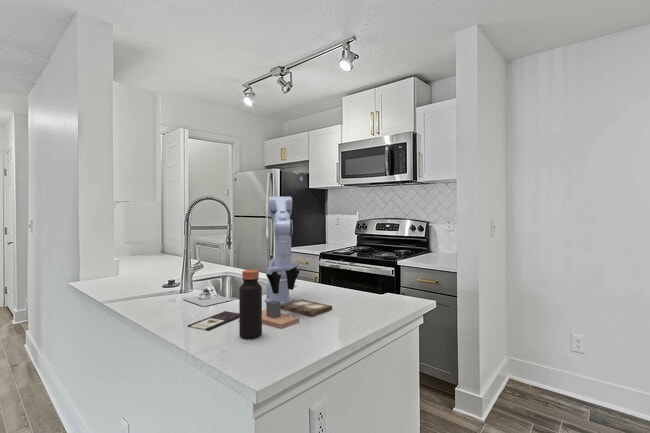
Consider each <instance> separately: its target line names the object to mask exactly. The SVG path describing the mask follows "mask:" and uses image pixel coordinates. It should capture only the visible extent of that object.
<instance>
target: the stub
mask: <svg viewBox="0 0 650 433" xmlns="http://www.w3.org/2000/svg"><path fill="white" fill-rule="evenodd" d="M265 302H266V306H265V308H266V309H264V310H262V325H266V326H271V327H273V328H276V329H280V330H281V329H284V328H286V327H287V328H288V327H289V326H293V325H296V324H298V323H300V317H298V316H295V315H291V314H286V313H283V312H282V309H281V305H282V304H281V302H278V301H273V300H272V301H268V302H267V301H265Z"/></svg>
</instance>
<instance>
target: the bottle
mask: <svg viewBox="0 0 650 433" xmlns="http://www.w3.org/2000/svg"><path fill="white" fill-rule="evenodd" d="M259 274H260V273H259V270H258V269H246V270H242V281H243V283H242V284H241V285H240V287H239V288H238V289H239V293H238V294H239V298H238V300H239V301H238V302H239V305H238V306H239V308H238V309H239V312H238V313H239V318H238V319H239V321H238V322H239V324H238V325H239V329H238V330H239V333H238V334H239V337H240V338H241V339H244V340H254V339H258V338H259V337H261V336H262V333H263V323H262V311H263V286H262V285H261V284H260V283H259V282H258V280H259V279H260V278H259V277H260V276H259Z"/></svg>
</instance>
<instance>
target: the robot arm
mask: <svg viewBox="0 0 650 433" xmlns="http://www.w3.org/2000/svg"><path fill="white" fill-rule="evenodd" d="M292 211H293V198H292V197H291V196H290V195H289V196H272V195H270V196H268V216H269V217H270V218H272V219H273V221H274V222H273V234H274V235H273V236H274V242H275V243H274V246H275V247H274V248H275V249H274V250H275V251H274V257H273V258H271V259H270V260H269V261H268V267H267V268H266V270H265V271H266V274H265V276H266V278H267V283H266V287H265V288H266V290H265V291H266V292H265V294H266V298H265V299H264V301H265V302H268V301H272V300H273V301H278V302H281V305H283V304H287V303H290V302H293V301H295V300H294V299H292V298H290V291H293V290H294V288H295V283H296V280H297V277H298V276H299V274H300V263H296V262H295V263H293V261H292V236H293V232H294V228H293V227H294V225H293V220H292V219H291V215H292Z"/></svg>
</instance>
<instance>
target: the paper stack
mask: <svg viewBox="0 0 650 433" xmlns="http://www.w3.org/2000/svg"><path fill="white" fill-rule="evenodd" d="M216 295H217V297H216V298H213V299H206V300H199V299H198V296H199V295H196V296H192V297H191V296H190V297H186V298H183V300H185V301H187V302H190V303H193V304H196V305H198V306H201V307H206V306H210V305H216V304H221V303H225V302H229V301H234V299H233V298H230V297H226V296H223V295H219V294H216ZM167 301H168V302H171V303H174V304H176V302H177V298H173V299H168V300H167Z"/></svg>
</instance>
